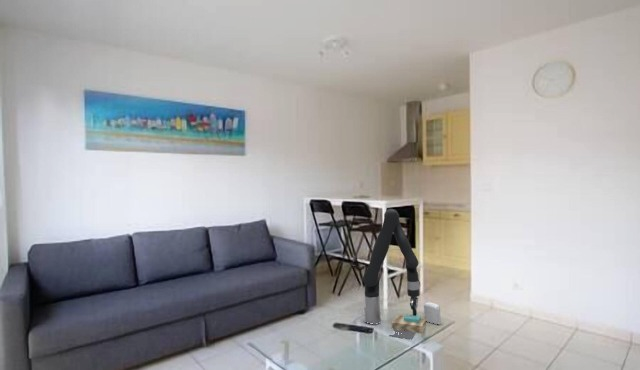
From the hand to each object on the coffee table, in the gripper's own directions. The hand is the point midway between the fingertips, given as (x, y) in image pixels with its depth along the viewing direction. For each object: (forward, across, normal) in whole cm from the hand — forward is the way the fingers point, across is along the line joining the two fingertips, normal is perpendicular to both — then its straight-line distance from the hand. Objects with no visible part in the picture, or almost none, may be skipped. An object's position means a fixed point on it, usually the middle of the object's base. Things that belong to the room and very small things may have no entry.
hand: (414, 315), depth 223 cm
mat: (+5, +20, -3) cm, 21 cm away
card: (+1, +7, 0) cm, 7 cm away
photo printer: (+5, -4, +10) cm, 12 cm away
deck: (+5, +8, -2) cm, 10 cm away
